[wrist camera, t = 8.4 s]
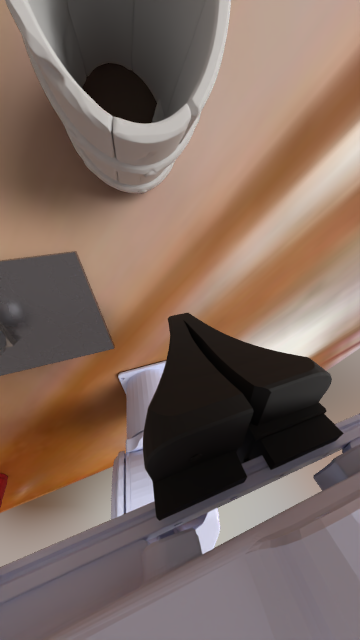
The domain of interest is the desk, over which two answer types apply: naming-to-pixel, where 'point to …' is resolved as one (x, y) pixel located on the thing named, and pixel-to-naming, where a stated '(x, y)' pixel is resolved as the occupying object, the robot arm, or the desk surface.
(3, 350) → the tube
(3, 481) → the plastic cup
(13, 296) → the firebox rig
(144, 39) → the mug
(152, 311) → the desk surface
